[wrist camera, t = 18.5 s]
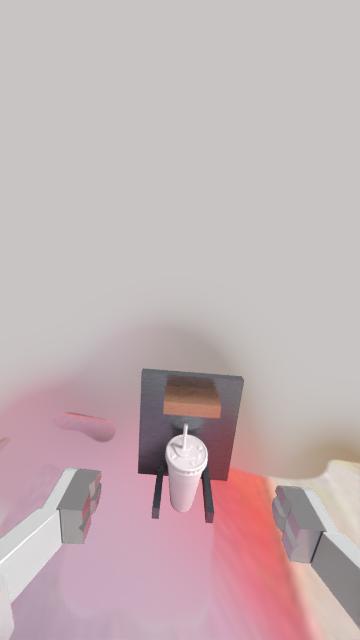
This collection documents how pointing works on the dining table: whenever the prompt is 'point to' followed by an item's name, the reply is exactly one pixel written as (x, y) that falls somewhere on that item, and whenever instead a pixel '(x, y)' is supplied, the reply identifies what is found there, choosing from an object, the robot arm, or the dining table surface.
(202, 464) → the smoothie
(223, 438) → the gray menu stand
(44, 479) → the dining table surface
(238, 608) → the dining table surface
